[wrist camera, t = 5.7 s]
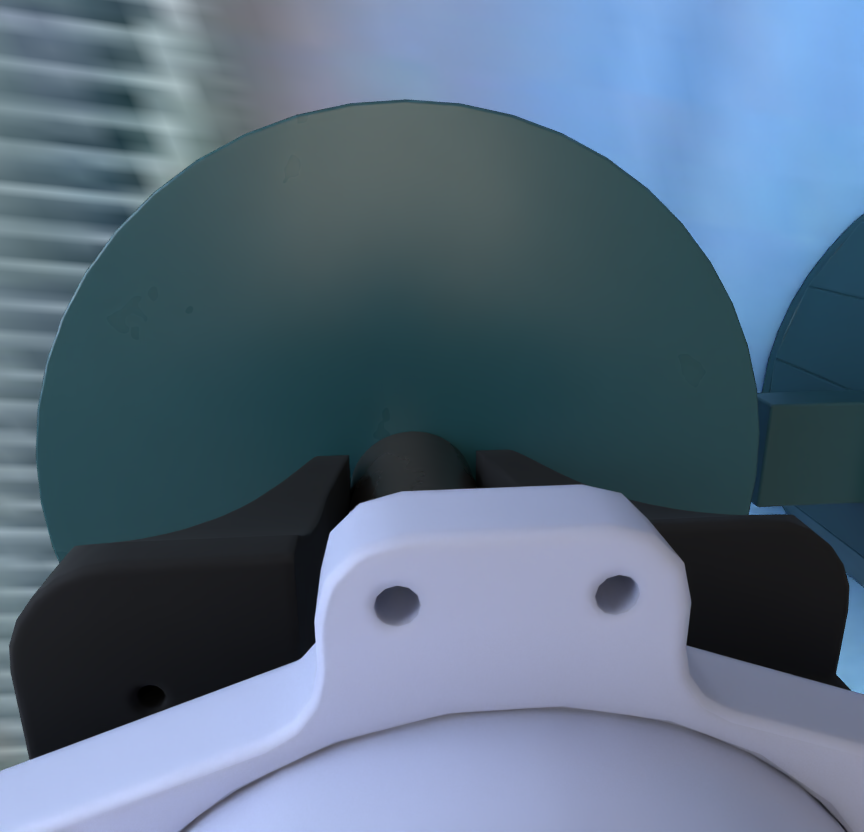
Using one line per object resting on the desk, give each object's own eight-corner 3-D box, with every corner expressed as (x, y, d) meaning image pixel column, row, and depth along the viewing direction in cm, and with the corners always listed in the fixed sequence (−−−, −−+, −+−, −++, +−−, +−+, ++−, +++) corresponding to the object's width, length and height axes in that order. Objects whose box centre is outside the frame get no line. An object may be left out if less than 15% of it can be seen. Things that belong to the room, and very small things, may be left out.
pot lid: (698, 722, 18) (794, 881, 14) (111, 760, 17) (29, 944, 13) (776, 106, 14) (951, 74, 10) (-2, 104, 13) (-181, 68, 8)
